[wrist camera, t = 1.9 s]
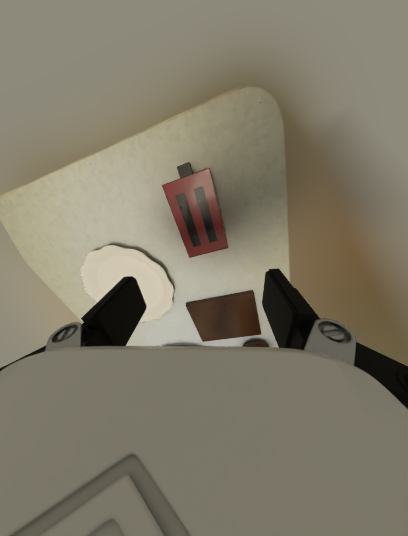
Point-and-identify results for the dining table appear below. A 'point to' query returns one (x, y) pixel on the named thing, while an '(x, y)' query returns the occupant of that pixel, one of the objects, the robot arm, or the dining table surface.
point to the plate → (122, 265)
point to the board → (225, 316)
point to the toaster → (196, 211)
